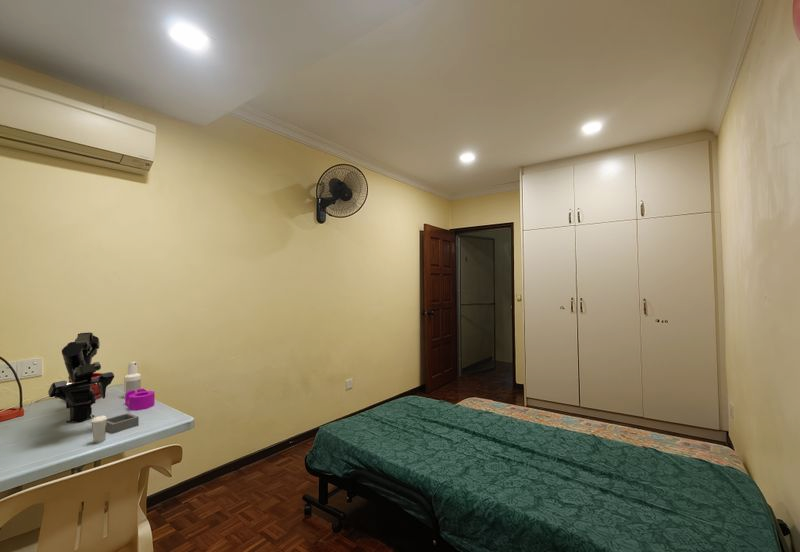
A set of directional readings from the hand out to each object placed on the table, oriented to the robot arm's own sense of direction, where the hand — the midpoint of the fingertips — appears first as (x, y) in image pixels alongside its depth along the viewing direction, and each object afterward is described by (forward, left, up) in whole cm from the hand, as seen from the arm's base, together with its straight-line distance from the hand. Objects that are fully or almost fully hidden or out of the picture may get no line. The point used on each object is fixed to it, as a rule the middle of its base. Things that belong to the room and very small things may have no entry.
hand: (89, 401), depth 134 cm
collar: (+5, +9, -13) cm, 17 cm away
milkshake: (+7, -4, -14) cm, 16 cm away
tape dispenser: (-6, +34, -14) cm, 38 cm away
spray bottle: (-19, +47, -14) cm, 53 cm away
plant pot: (-40, +44, -14) cm, 61 cm away
